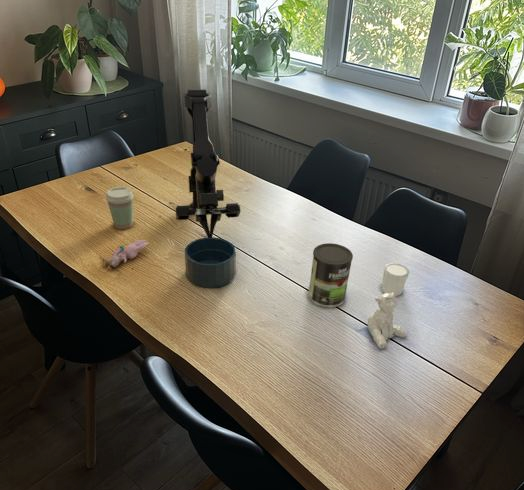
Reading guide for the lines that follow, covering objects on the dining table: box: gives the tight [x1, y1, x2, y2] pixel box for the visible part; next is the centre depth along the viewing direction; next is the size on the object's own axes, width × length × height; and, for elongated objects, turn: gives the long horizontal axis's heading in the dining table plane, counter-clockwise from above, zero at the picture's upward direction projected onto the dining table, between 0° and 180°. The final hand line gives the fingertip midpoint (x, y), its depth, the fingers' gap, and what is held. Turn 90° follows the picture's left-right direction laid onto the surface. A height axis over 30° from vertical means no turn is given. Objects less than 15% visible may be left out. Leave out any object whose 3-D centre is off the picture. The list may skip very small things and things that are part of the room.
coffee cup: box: [105, 186, 134, 230], centre depth 160 cm, size 9×9×12 cm
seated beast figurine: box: [367, 293, 407, 350], centre depth 122 cm, size 10×9×12 cm
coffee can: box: [307, 242, 354, 309], centre depth 133 cm, size 10×10×14 cm
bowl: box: [184, 236, 237, 289], centre depth 141 cm, size 14×14×8 cm
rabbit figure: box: [102, 239, 150, 270], centre depth 146 cm, size 6×6×15 cm
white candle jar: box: [381, 262, 410, 297], centre depth 139 cm, size 7×7×7 cm
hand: (210, 239), depth 146 cm, fingers closed
